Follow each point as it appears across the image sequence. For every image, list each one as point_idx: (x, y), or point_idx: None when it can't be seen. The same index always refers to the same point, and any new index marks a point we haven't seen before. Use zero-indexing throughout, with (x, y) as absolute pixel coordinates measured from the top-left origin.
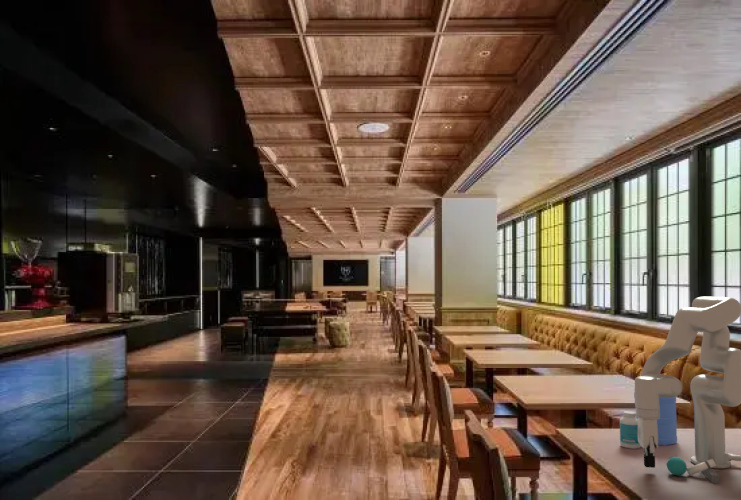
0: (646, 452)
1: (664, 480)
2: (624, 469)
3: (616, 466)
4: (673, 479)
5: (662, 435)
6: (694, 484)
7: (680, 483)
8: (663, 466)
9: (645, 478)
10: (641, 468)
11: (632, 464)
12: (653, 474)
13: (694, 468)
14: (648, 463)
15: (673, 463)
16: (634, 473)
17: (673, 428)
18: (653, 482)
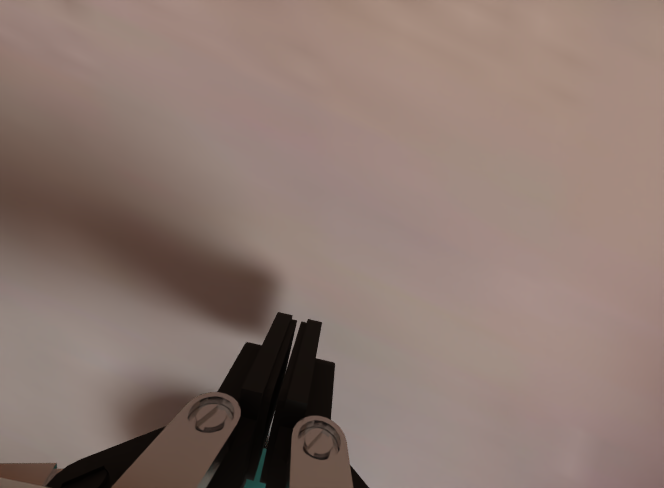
0: (158, 440)
1: (130, 341)
2: (383, 144)
3: (481, 99)
4: (163, 404)
5: None
6: None
7: (90, 407)
8: (439, 468)
9: (150, 226)
10: (404, 306)
11: (517, 281)
12: (257, 328)
13: None
14: (242, 352)
15: None
16: (271, 190)
17: None
18: (65, 245)
